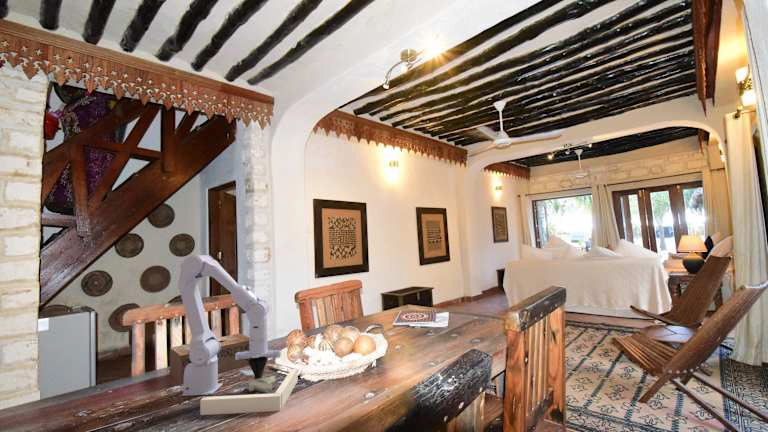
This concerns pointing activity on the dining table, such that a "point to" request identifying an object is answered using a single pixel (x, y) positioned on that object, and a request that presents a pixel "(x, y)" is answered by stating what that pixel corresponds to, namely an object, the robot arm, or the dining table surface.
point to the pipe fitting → (262, 384)
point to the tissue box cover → (225, 356)
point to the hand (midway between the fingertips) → (258, 380)
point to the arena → (250, 400)
